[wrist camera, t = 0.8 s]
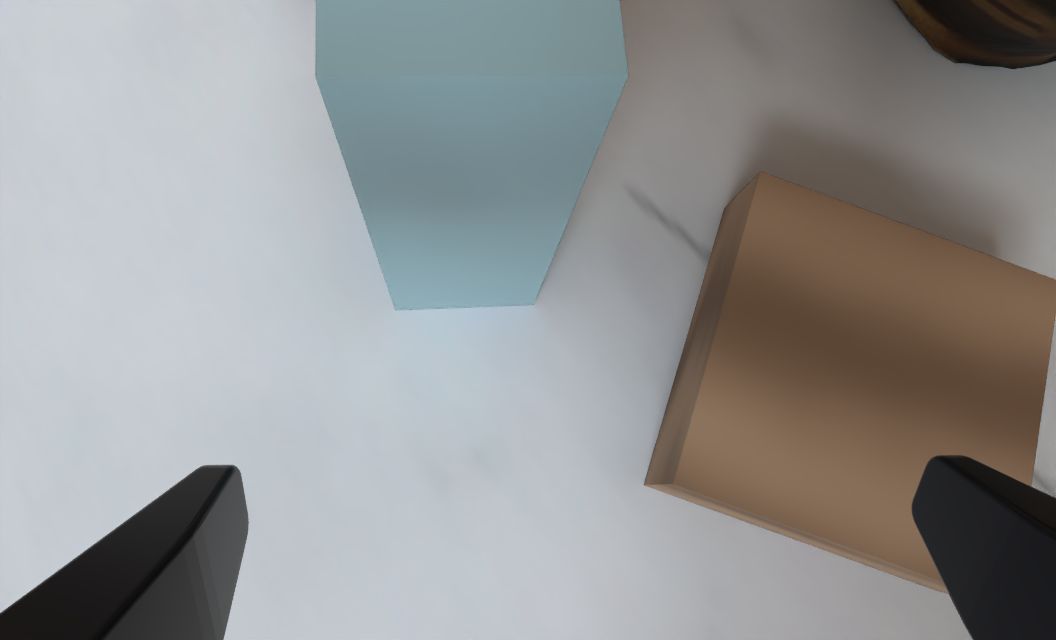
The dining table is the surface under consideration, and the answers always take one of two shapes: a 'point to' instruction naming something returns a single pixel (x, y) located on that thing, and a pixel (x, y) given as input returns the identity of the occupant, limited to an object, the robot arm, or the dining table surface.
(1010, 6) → the ceramic jug
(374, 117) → the slate-blue block
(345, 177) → the dining table surface
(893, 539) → the walnut slab
